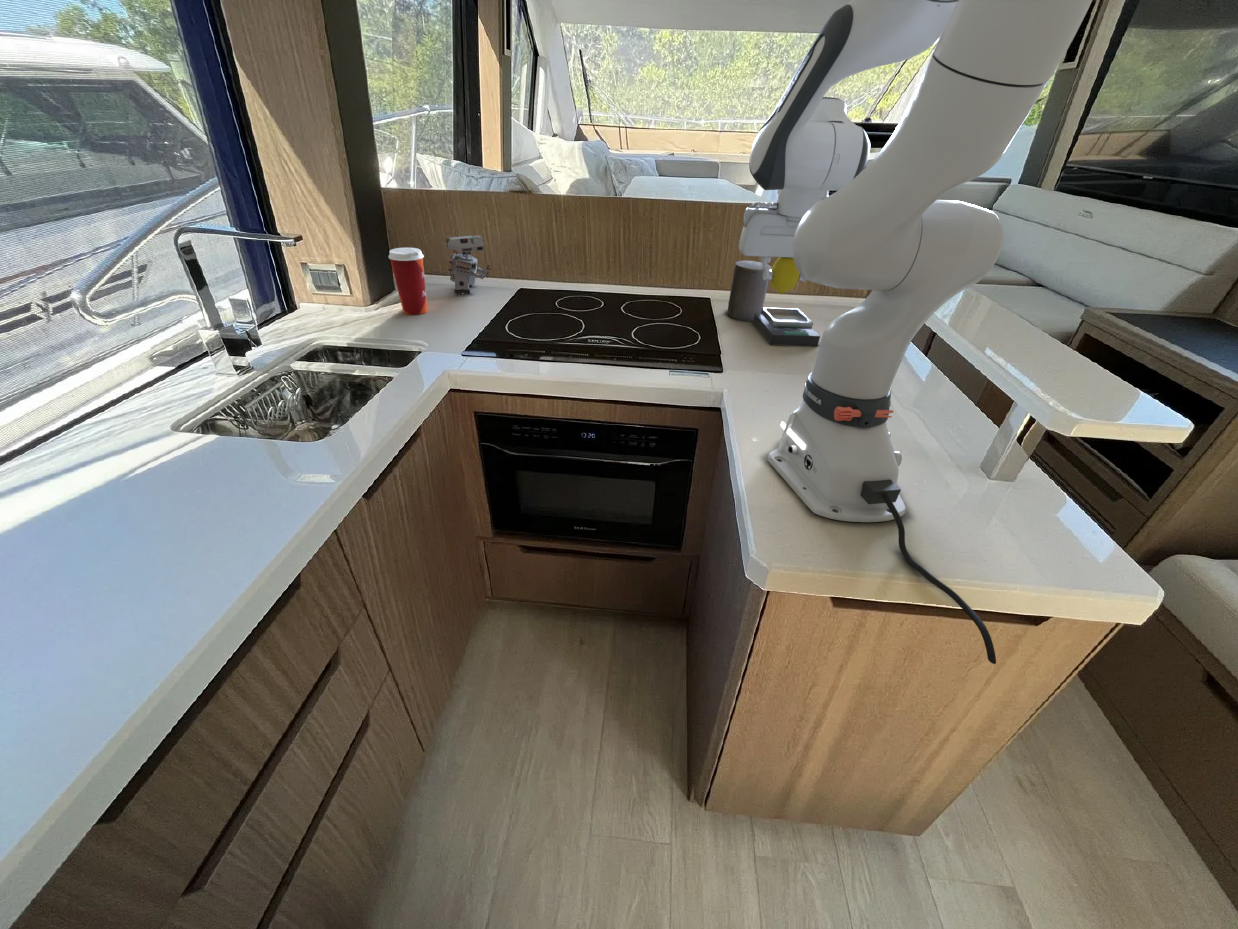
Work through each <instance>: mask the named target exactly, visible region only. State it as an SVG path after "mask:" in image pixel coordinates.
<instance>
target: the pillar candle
mask: <svg viewBox="0 0 1238 929" xmlns="http://www.w3.org/2000/svg"><path fill="white" fill-rule="evenodd" d="M768 267H769V270H772V267H773V266H771V265H770V264H768ZM763 272H764V269H763V266H762V264H761V261H755V260H754V259H752V260H738V261H736V262H735V264H734V269H733V273H732V281H731V287H730V292H729V299H728V303H727V304H728V305H727V311H726V315H727V316H728V317H729V318H731V319H736V320H739V321H749V322H750V321H753V322H754V317H755V314H761V310H762V308H764V305H765V301H766V295H767V289H768V286H769V285H768V284H769V281H770V280H764V279H763Z"/></svg>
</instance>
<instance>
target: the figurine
mask: <svg viewBox="0 0 1238 929" xmlns="http://www.w3.org/2000/svg"><path fill="white" fill-rule="evenodd" d="M445 246H446V248H447V249H448V250H454V251H453V252H451V256H450V257H449V259H448V271H449V277H450V278H449V280H450V281H451V282H453V283H454V288H455V289H454V294H456V295H461V296H462V295H469V296H470V294H471V289H470V288H472V287H473V286H474V285H475V284H476V282H477V279H481V280H484V279H485V277H486V278H487V279H489V276H488V274H490V272H489V271H491V270H492V268H491V266H490V265H489V264H488V265H487V267H486V268H485V269H484V268H483V269H482V268H481V267H479V266H478V258H476V257H474V256H473V255H472V252H479V251H480V252H481V251H485V244H484V239H483V238H482V236H481V234H473V235H472V234H471V235H463V236H462V235H461V236H452V237H451V236H450V237H447V238H446V240H445ZM488 270H489V271H488ZM479 273H480V274H479Z"/></svg>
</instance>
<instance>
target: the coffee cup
mask: <svg viewBox="0 0 1238 929" xmlns="http://www.w3.org/2000/svg"><path fill="white" fill-rule="evenodd" d="M424 257H425V255H424V254H423V252H422V250H421V249H419V248H417V247H395V248H392V249H390V250H389V254H388V259H389V260H390V263H391V268H392V273H393V277H394V280H395V285H396V289H397V292H398V293H397V294H398V297H399V301H400V304H401V309H402V311H403V312H402V313H404V314H405V315H408V316H409V315H410V316H418V315H420V316H421V315H423V314H424V315H425V314H426V313H427V312H428V300H427V290H426V289H427V288H426V279H425V278H426V277H425V268H424Z"/></svg>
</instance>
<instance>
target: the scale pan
mask: <svg viewBox="0 0 1238 929" xmlns="http://www.w3.org/2000/svg"><path fill="white" fill-rule="evenodd" d="M761 314H762V315H763V316H764V318H765V319H766V320H767V321H768V322H769V323H770V325H771V326H772V327H773V328H803V329H813V327H814V326H813V325H814V322H813V320H811V319H810V318H809V317H808V316H807V315H806V313H805V314H804V312H802V310H801V309H799V308H790V307H789V308H788V307H786V308H785V307H763V308H762V310H761Z"/></svg>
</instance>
